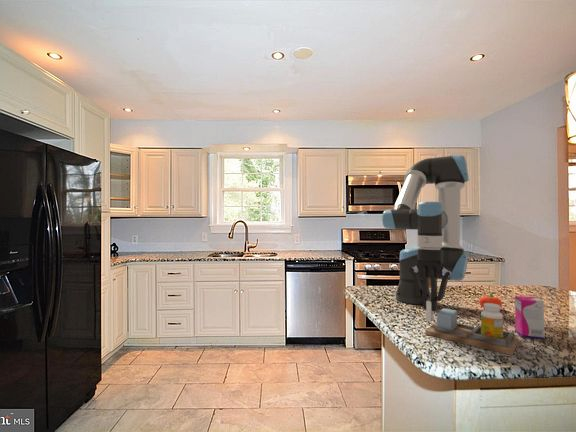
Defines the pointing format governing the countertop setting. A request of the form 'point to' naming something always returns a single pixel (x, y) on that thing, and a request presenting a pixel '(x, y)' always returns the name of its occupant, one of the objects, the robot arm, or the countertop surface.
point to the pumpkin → (490, 300)
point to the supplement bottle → (492, 321)
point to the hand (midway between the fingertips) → (430, 320)
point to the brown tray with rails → (476, 337)
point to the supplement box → (529, 317)
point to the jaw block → (447, 319)
